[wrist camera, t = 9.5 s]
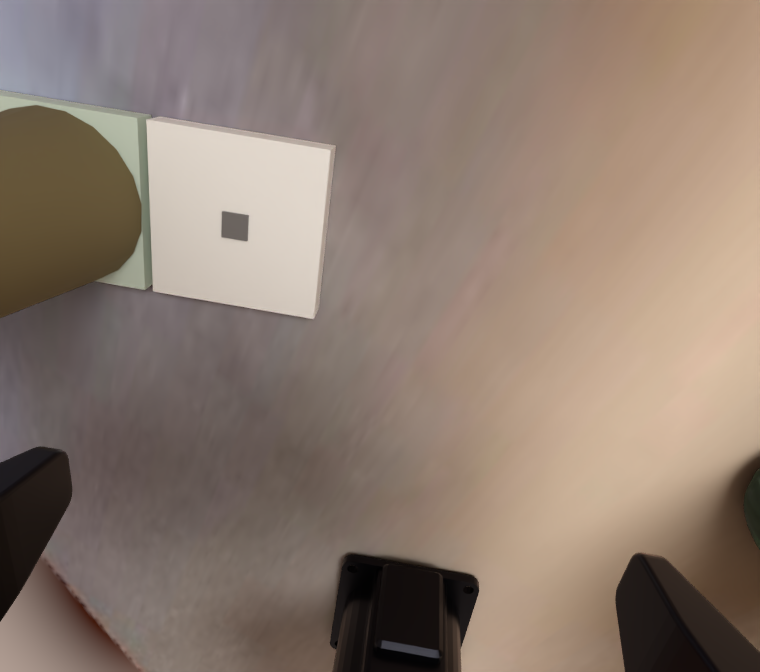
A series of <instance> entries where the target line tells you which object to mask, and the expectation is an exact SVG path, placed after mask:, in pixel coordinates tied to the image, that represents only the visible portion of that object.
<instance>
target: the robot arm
mask: <svg viewBox="0 0 760 672" xmlns="http://www.w3.org/2000/svg"><path fill="white" fill-rule="evenodd" d="M71 497H72V482H71V474H70V467H69V459H68V455H67V454H66V452H65V451H63V450H60V449H54V448H48V447H36V448H33V449H31V450H28V451H26V452H24V453H21V454H19V455H17V456H15V457H12V458H10V459H8V460H6V461H3V462H1V463H0V621H1V620H2V618H3V617H4V615H5V614H6V613H7V611H8V610H9V608H10V607H11V605H12V604H13V602H14V601H15V599H16V598H17V596H18V595H19V593H20V591H21V590H22V588H23V586H24V585H25V583H26V581H27V579H28V578H29V576H30V574H31V572H32V571H33V569H34V567H35V564H36V563H37V562H38V560H39V558H40V556H41V554H42V552H43V551H44V549H45V547H46V545H47V543H48V542H49V540H50V538H51V536H52V534H53V533H54V531H55V529H56V527H57V525H58V524H59V522H60V520H61V518H62V516H63V515H64V513H65V511H66V509H67V507H68V505H69V503H70V501H71ZM351 565H354V566H351ZM466 586H470V587H466ZM478 593H479V582H478V580H477V579H476V578H475V577H472V576H469V575H463V574H458V573H452V572H447V571H441V570H436V569H430V568H425V567H419V566H414V565H408V564H403V563H397V562H391V561H386V560H380V559H375V558H369V557H364V556H358V555H348V556H346V557H345V558H344V560H343V565H342V571H341V577H340V584H339V590H338V596H337V602H336V609H335V615H334V621H333V627H332V633H331V640H330V645H331V646H332V647H333V648H334V649H336V655H335V661H334V667H333V672H461V646H462V643H463V640H464V637H465V634H466V631H467V627H468V624H469V621H470V618H471V615H472V612H473V609H474V606H475V603H476V600H477V596H478ZM616 610H617V617H618V624H619V631H620V639H621V646H622V653H623V660H624V667H625V672H760V652H759V651H758V650H757V649H756V648H755V647H754V646H753V645H752V644H751V643H750V642H749V641H748V640H747V639H746V638H745V637H744V636H743V635H742V634H741V633H740V632H739V631H738V630H737V629H736V628H735V627H734V626H733V625H732V624H731V623H730V622H729V621H728V620H727V619H726V618H725V617H724V616H723V615H722V614H721V613H720V612H719V611H718V610H717V609H716V608H715V607H714V606H713V605H712V604H711V603H710V602H709V601H708V600H707V599H706V598H705V597H704V596H703V595H702V594H701V593H700V592H699V591H698V590H697V589H696V588H695V587H694V586H693V585H692V584H691V583H690V582H689V581H688V580H687V579H686V578H685V577H684V576H683V575H682V574H681V573H680V572H679V571H678V570H677V569H676V568H675V567H674V566H673V565H672V564H671V563H670V562H669V561H667V560H666V559H665V558H663V557H661V556H657V555H651V554H646V553H636V554H634V555H633V556H632V558H631V560H630V562H629V564H628V566H627V568H626V570H625V572H624V574H623V576H622V578H621V580H620V583H619V585H618V587H617V590H616Z"/></svg>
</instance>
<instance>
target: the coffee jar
mask: <svg viewBox="0 0 760 672" xmlns="http://www.w3.org/2000/svg"><path fill="white" fill-rule="evenodd" d="M744 513H745V518H746V521H747V525H748V528H749V530H750V532H751V534H752V537H753V539H754V541H755V543H756V545H757V546H758V548H759V550H760V468H759V469H758V470H757V471H756V472H755V474H754V476H753V478H752V480H751V482H750V484H749V485H748V487H747V490H746V493H745V497H744Z"/></svg>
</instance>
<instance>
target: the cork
mask: <svg viewBox="0 0 760 672" xmlns="http://www.w3.org/2000/svg"><path fill="white" fill-rule="evenodd" d="M141 215H142V204H141V201H140V198H139V194H138V191H137V188H136V184H135V181H134V178H133V175H132V174H131V172H130V170H129V169H128V167H127V166H126V164H125V162H124V161H123V159H122V158H121V156H120V154H119V153H118V151H117V149H116V148H115V147H114V146H112V145H111V144H110V143H109V142H108V141H107V140H106V139H105V138H104V137H103V136H102V135H101V134H100V133H99V132H98V131H97V130H96V129H95V128H94V127H93V126H91V125H89V124H87V123H85V122H84V121H82V120H80V119H78V118H77V117H75V116H73V115H71V114H69V113H68V112H66V111H62V110H57V109H53V108H48V107H44V106H39V105H32V106H24V107H17V108H10V109H7V110H4V111H1V112H0V318H2V317H4V316H7V315H9V314H12V313H15V312H17V311H20V310H22V309H25V308H27V307H30V306H32V305H35V304H37V303H40V302H42V301H45V300H48V299H50V298H53V297H55V296H58V295H60V294H63V293H65V292H68V291H70V290H73V289H75V288H78V287H81V286H83V285H86V284H88V283H91V282H93V281H96V280H98V279H100V278H102V277H105V276H107V275H109V274H111V273H113V272H115V271H117V270H119V269H120V268H121V266H122V265H123V264H124V263H125V262H126V261H127V260H128V259H129V258H130V257H131V255H132V254H133V253H134V250H135V247H136V245H137V242H138V239H139V236H140V234H141Z"/></svg>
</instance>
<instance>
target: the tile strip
mask: <svg viewBox="0 0 760 672" xmlns="http://www.w3.org/2000/svg"><path fill="white" fill-rule="evenodd" d="M32 105H39V106H44V107H48V108H53V109H57V110H62V111H66V112H68V113H69V114H71V115H73V116H75V117H77V118H78V119H80V120H82V121H84V122H85V123H87V124H89V125H91V126H93V127H94V128H95V129H96V130H97V131H98V132H99V133H100V134H101V135H102V136H103V137H104V138H105V139H106V140H107V141H108V142H109V143H110V144H111V145H112V146H114V147H115V148H116V149H117V151H118V153H119V154H120V156H121V158H122V159H123V161H124V162H125V164H126V166H127V167H128V169H129V170H130V172H131V174H132V175H133V178H134V181H135V184H136V188H137V191H138V194H139V198H140V201H141V204H142V215H141V234H140V236H139V239H138V242H137V245H136V247H135V250H134V253H133V254H132V255H131V257H130V258H129V259H128V260H127V261H126V262H125V263H124V264H123V265H122V266H121V268H120V269H119V270H117V271H115V272H113V273H111V274H109V275H107V276H105V277H102V278H100V279H98V280H96V281H95V282H101V283H107V284H113V285H119V286H124V287H130V288H136V289H142V290H146V289H147V288H148V287H150V286H151V285H152V284H153V292H159V293H165V294H171V295H177V296H182V297H188V298H194V299H200V300H206V301H211V302H217V303H223V304H229V305H235V306H240V307H246V308H252V309H258V310H264V311H269V312H275V313H281V314H287V315H293V316H299V317H304V318H310V319H314V317H315V315H316V313H317V311H318V309H319V303H320V293H321V284H322V274H323V265H324V255H325V245H326V236H327V226H328V217H329V207H330V197H331V188H332V178H333V169H334V159H335V150H336V145H330V144H323V143H317V142H311V141H305V140H299V139H293V138H287V137H281V136H275V135H269V134H263V133H257V132H251V131H245V130H239V129H233V128H227V127H221V126H215V125H209V124H203V123H197V122H191V121H184V120H178V119H172V118H166V117H155V118H151V115H148V114H142V113H136V112H130V111H124V110H118V109H112V108H106V107H100V106H94V105H88V104H82V103H76V102H70V101H64V100H58V99H52V98H45V97H39V96H33V95H27V94H21V93H15V92H9V91H3V90H0V112H1V111H4V110H7V109H10V108H17V107H24V106H32Z"/></svg>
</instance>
